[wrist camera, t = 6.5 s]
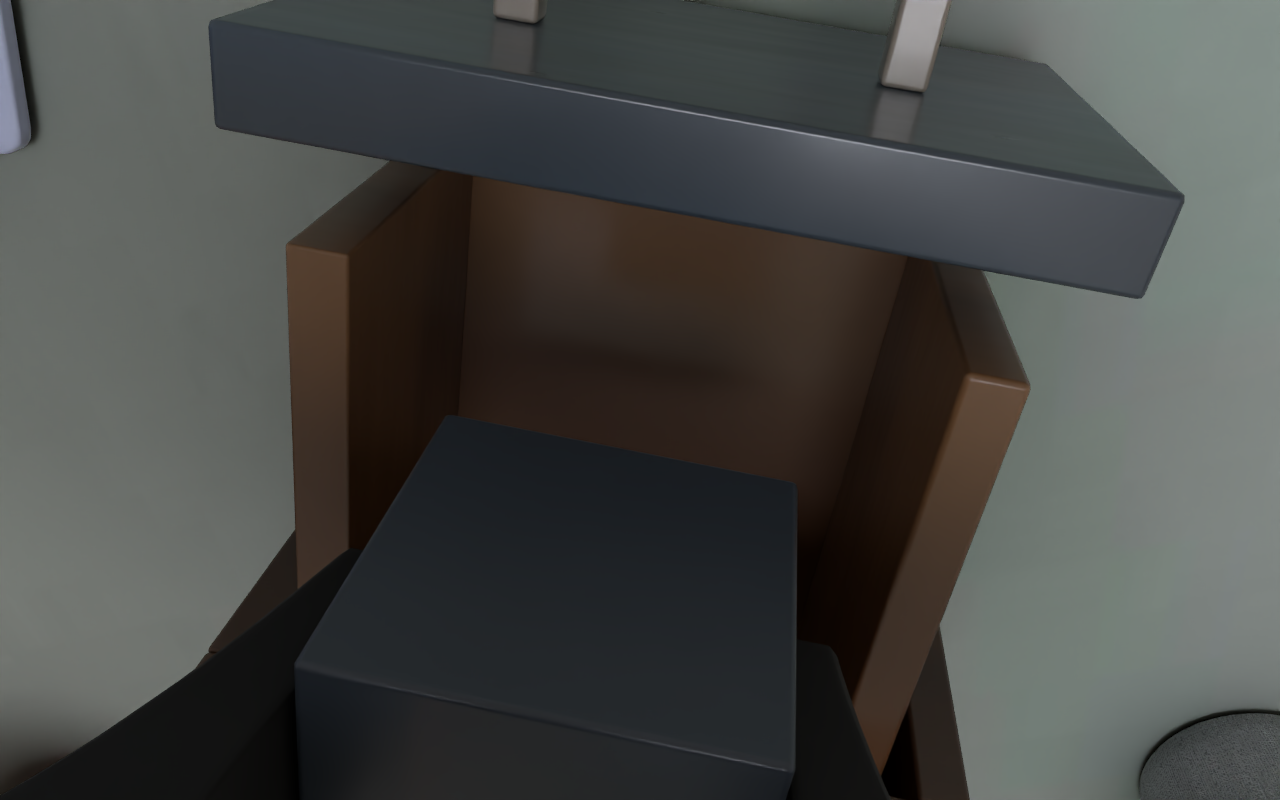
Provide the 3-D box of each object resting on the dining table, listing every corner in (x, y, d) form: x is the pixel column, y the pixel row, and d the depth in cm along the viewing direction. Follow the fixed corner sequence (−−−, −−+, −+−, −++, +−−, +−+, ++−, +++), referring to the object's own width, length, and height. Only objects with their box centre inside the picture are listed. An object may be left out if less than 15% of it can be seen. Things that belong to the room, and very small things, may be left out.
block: (431, 669, 13) (302, 961, 10) (445, 410, 11) (289, 663, 8) (731, 733, 13) (706, 1054, 10) (799, 480, 11) (798, 770, 8)
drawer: (423, -362, 15) (169, -493, 9) (1153, -247, 14) (1403, -302, 8) (397, 549, 23) (258, 796, 17) (855, 643, 22) (874, 930, 17)
